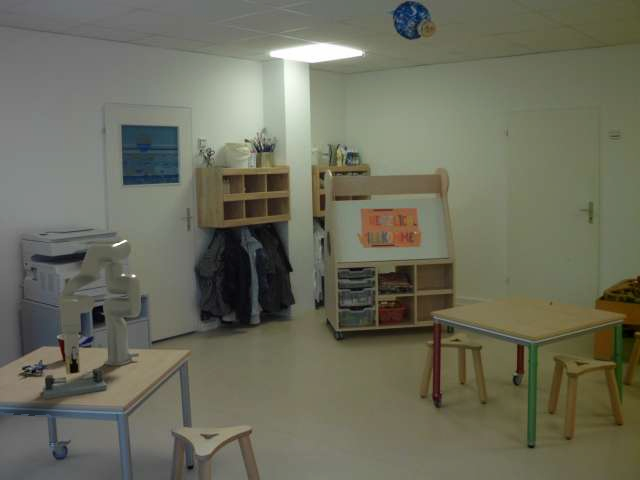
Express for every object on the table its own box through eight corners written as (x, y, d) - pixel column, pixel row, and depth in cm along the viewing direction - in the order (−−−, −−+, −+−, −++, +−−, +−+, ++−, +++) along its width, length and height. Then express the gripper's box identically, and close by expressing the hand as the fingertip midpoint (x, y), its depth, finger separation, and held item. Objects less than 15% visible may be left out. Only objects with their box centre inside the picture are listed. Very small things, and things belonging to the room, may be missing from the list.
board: (102, 382, 298) (102, 377, 298) (106, 389, 288) (106, 384, 288) (43, 391, 287) (42, 386, 287) (45, 398, 278) (45, 394, 277)
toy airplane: (17, 380, 303) (17, 372, 302) (17, 372, 315) (16, 364, 315) (49, 376, 308) (48, 368, 308) (47, 368, 321) (47, 361, 320)
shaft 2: (98, 379, 296) (98, 368, 295) (102, 381, 293) (102, 370, 292) (81, 383, 291) (80, 371, 290) (85, 385, 288) (84, 373, 287)
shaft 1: (45, 390, 283) (44, 378, 282) (47, 387, 287) (46, 375, 286) (65, 388, 284) (64, 376, 284) (66, 385, 288) (66, 373, 288)
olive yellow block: (67, 374, 284) (66, 358, 283) (66, 372, 287) (65, 355, 287) (80, 372, 286) (79, 356, 285) (78, 370, 290) (77, 354, 289)
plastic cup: (76, 362, 329) (75, 338, 328) (54, 362, 330) (53, 338, 328) (85, 356, 340) (83, 332, 339) (63, 356, 341) (62, 332, 339)
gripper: (59, 325, 291) (61, 367, 293) (64, 333, 276) (66, 377, 278) (78, 323, 294) (80, 365, 296) (83, 331, 279) (85, 375, 281)
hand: (73, 370), depth 287 cm, fingers closed on olive yellow block, 4 cm apart
